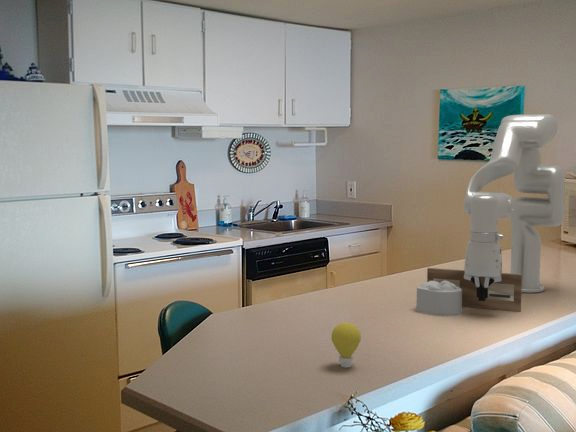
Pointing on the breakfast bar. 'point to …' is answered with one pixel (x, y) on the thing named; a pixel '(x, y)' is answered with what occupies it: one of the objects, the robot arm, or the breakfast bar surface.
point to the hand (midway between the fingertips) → (482, 300)
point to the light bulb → (346, 342)
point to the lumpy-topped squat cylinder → (439, 298)
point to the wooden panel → (499, 293)
